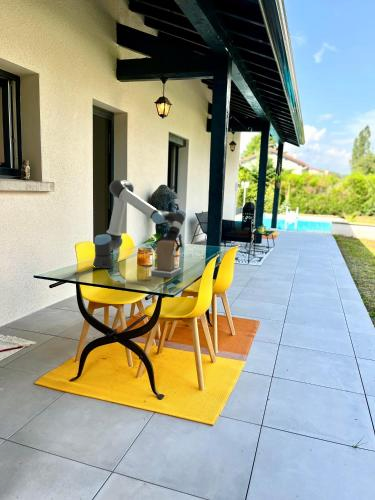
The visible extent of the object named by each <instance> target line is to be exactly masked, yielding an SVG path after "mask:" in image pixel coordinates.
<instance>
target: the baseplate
mask: <svg viewBox="0 0 375 500" xmlns="http://www.w3.org/2000/svg"><path fill="white" fill-rule="evenodd" d="M180 273H181V274H182V268H181V267H175V266H174V269H173V270H172V271H171V272H166V271H157V267H156V268H153V269H151V270H150V276H152V277H159V278H160V277H161V278H169V279H173V278H174V277H176V276H178V274H179V275H181V274H180Z"/></svg>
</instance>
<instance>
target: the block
mask: <svg viewBox="0 0 375 500" xmlns="http://www.w3.org/2000/svg"><path fill="white" fill-rule="evenodd" d="M174 249H175V240H160V241H158V242H157V254H156V268H157V271H166V272H171V271H172V270H173V269H174V267H175V256H174V255H173V251H174Z"/></svg>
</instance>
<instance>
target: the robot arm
mask: <svg viewBox="0 0 375 500" xmlns="http://www.w3.org/2000/svg"><path fill="white" fill-rule="evenodd" d="M109 191H110V193H111V194H112V195H113V198H114V202H113V203H114V204H113V209H112V214H111V217H110V218H111V219H110V222H109V228H108V229H107V230H106V232H105V234H97V235H95V237H94V243H93V244H94V260H93V262H92V266H93V265H94V266H95V267H99V268H108V269H112V268H114V267H115V263H114V260H113V257H112V251H115V250H117V249H119V248H120V247H121V246H122V244H123V237H122V233H121V229H122V226H123V220H124V216H125V210H126V207H127V204H129V205H130V206H132V207H133V208H134V209H135V210H138V211H139V212H140V213H142V214H144V215H145V216H147V217H148V218H149V219H151V220H152V222H153V223H154V224H164V223H169V224H170V225H169V229H168V230H167V233H165V232H163V233H162V234H161V236H160V237H158V239H157V240H156V241H154V243H155V250H154V253H155V254H156V255H157V242H158V241H160V240H173V241H174V243H175V245H174V251H173V255H174V257H175V256H176V254H177V252H178V251H179V249H180V248H183V241H182V239H183V238H182V237H183V236H182V234H181V233H180V231H181V230H182V227H183V224H184V222H185V220H186V216H187V214H186V212H185V211H184V210H183V209H182V210H181V209H178V210H176V211H175V212H174V211H167V210H159V209H157V208H155V207H154V206H152V205H151V204H149V203H148V202H146V201H145V200H143V199H142V198H140V197H139V196H137V195H136V194H134V191H135V190H134V184H133V183H132V182H131V181H130V180H128V179H114V180H113V181H112V182H111V183H110V185H109ZM178 241H179V242H178Z"/></svg>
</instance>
